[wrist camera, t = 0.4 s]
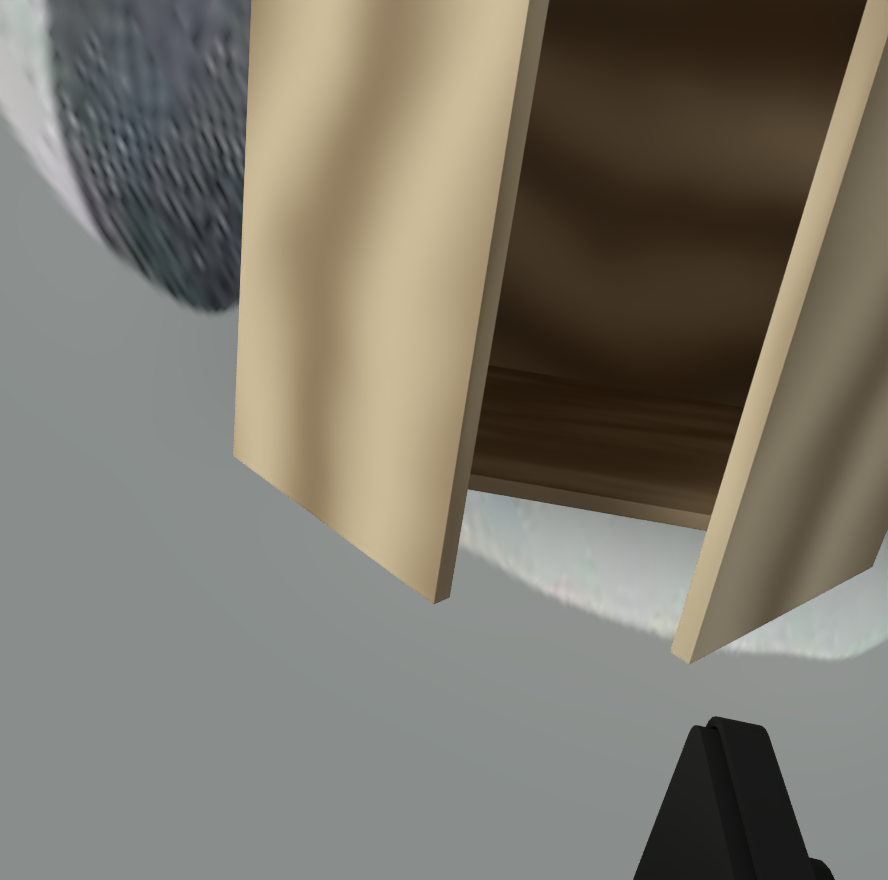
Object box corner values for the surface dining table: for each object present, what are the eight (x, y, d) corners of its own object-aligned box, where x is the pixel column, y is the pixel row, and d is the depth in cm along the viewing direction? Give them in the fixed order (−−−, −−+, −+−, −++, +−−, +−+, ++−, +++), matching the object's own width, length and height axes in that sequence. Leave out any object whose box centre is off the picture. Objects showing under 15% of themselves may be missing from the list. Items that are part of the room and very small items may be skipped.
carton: (373, -105, 34) (283, -201, 22) (904, -30, 33) (1101, -90, 21) (333, 349, 41) (251, 454, 30) (763, 420, 40) (850, 558, 29)
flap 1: (591, -250, 16) (570, -263, 15) (449, 597, 23) (433, 604, 23) (279, -199, 22) (259, -207, 22) (248, 452, 30) (233, 455, 29)
